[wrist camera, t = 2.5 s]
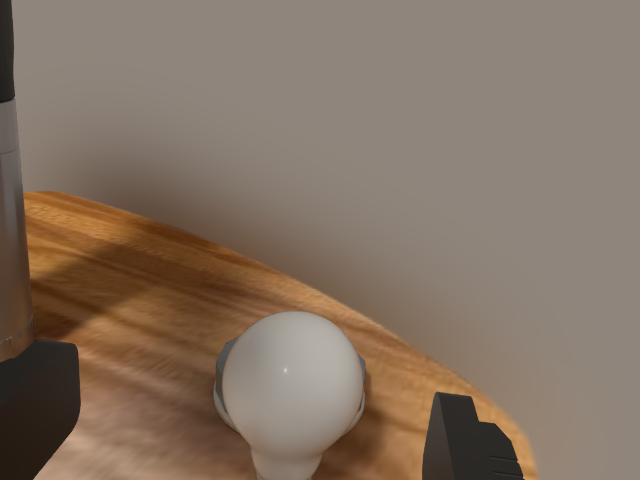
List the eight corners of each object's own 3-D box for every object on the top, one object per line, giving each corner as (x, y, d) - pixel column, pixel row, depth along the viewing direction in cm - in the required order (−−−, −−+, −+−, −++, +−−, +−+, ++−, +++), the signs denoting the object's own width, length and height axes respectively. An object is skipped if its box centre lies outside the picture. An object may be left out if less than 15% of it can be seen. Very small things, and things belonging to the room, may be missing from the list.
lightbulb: (239, 459, 31) (250, 279, 28) (351, 483, 30) (377, 300, 27) (195, 554, 25) (201, 341, 22) (333, 586, 25) (363, 370, 21)
